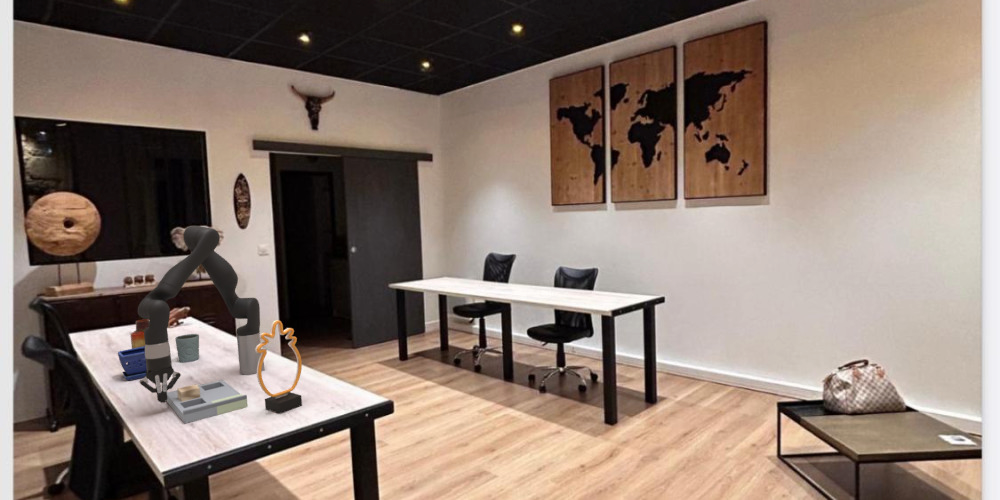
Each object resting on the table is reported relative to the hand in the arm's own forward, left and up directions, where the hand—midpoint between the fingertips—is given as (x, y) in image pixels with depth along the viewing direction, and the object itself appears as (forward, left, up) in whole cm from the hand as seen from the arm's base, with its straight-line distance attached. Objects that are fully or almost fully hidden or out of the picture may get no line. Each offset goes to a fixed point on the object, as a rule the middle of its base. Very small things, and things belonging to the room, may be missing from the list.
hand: (162, 401), depth 187 cm
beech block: (-8, 0, -1) cm, 8 cm away
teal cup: (-23, -72, -4) cm, 75 cm away
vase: (-8, -89, -4) cm, 89 cm away
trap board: (-13, +3, -4) cm, 14 cm away
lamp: (-32, +30, -4) cm, 44 cm away
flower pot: (-1, -60, -4) cm, 60 cm away
